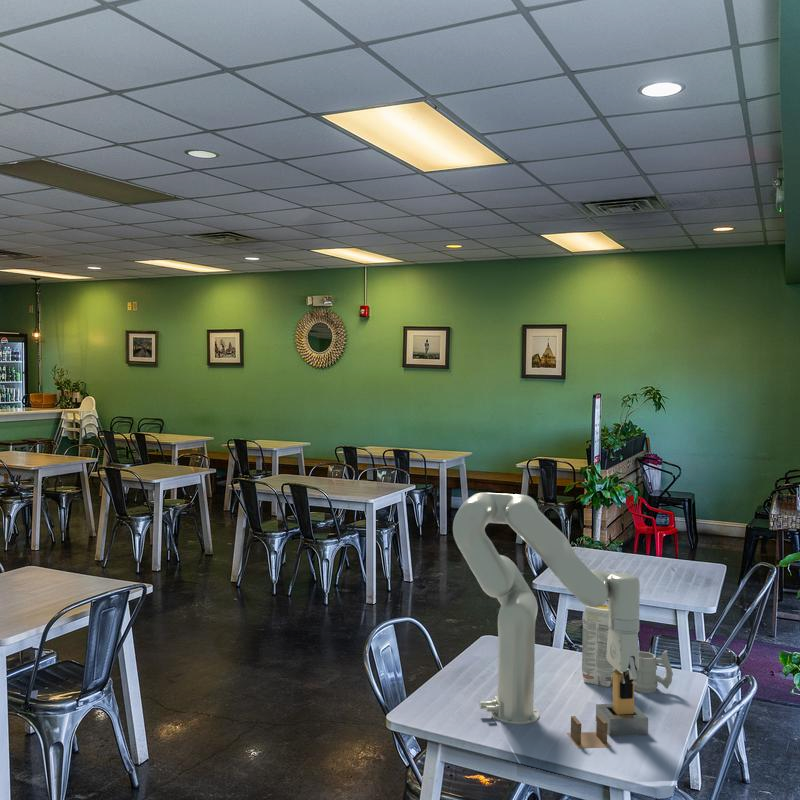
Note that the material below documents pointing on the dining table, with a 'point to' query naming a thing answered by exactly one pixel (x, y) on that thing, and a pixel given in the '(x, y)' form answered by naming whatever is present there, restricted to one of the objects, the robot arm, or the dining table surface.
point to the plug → (620, 704)
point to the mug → (651, 672)
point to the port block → (623, 721)
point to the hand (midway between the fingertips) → (623, 694)
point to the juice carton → (596, 646)
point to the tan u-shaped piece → (589, 734)
